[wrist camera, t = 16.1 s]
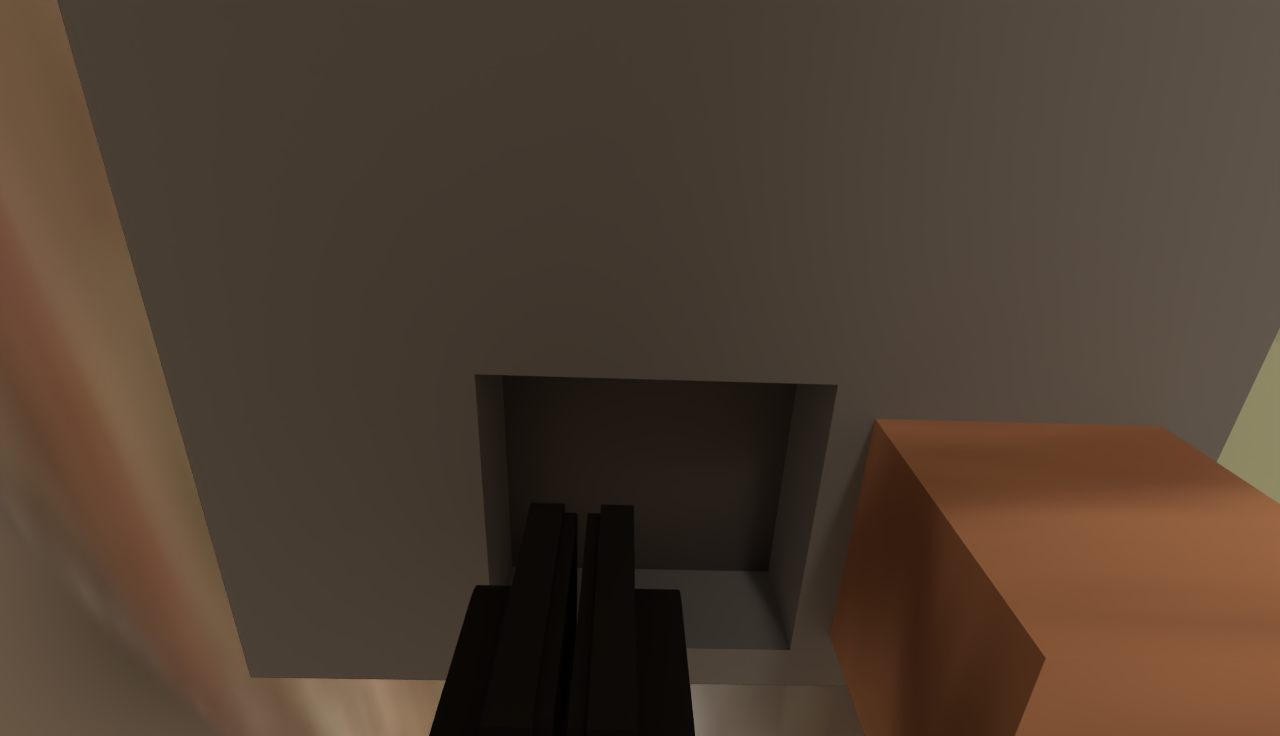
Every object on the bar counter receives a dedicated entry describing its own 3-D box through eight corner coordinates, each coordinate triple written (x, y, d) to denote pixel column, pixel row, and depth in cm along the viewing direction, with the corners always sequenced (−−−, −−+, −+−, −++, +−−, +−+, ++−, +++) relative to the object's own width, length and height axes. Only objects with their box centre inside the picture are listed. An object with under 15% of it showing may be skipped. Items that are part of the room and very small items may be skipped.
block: (875, 418, 11) (1046, 658, 7) (1161, 425, 11) (1521, 665, 7) (829, 636, 13) (935, 934, 9) (1072, 640, 13) (1302, 934, 9)
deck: (129, -207, 10) (-247, -417, 5) (1863, -112, 10) (2677, -234, 6) (305, 589, 16) (191, 772, 12) (1384, 609, 16) (1634, 787, 12)
